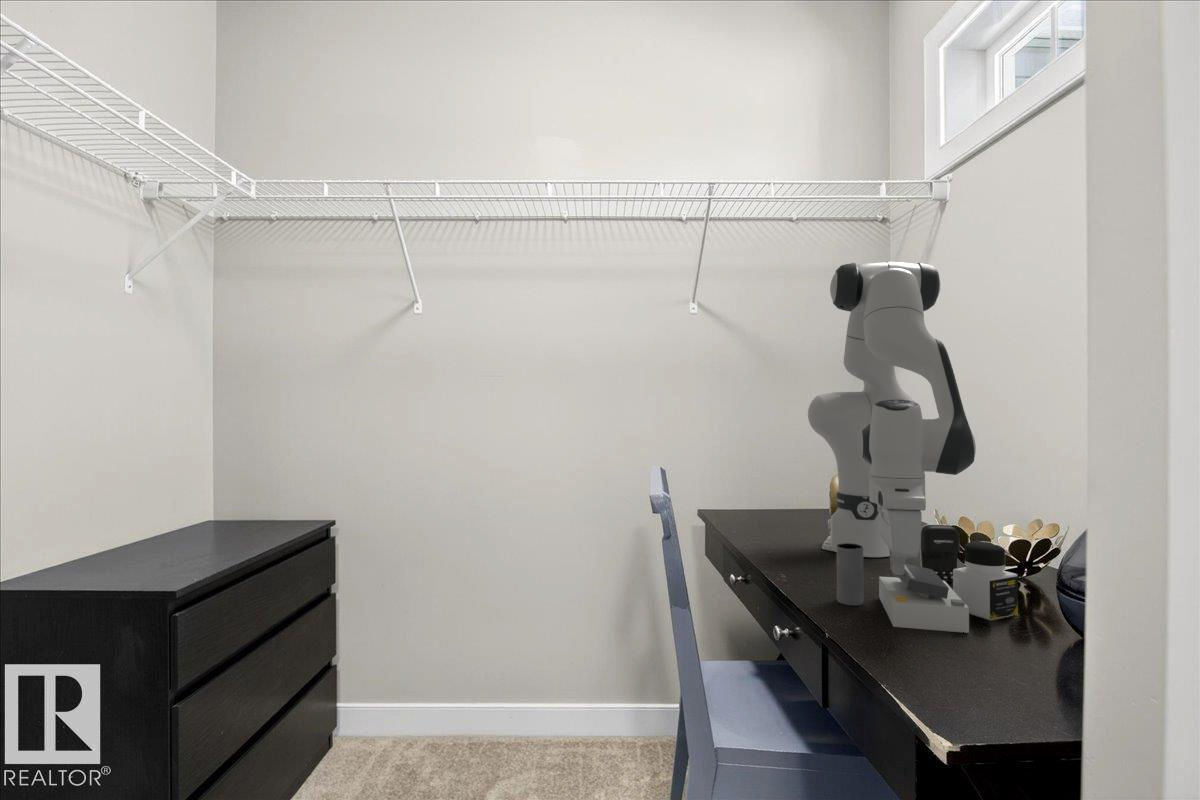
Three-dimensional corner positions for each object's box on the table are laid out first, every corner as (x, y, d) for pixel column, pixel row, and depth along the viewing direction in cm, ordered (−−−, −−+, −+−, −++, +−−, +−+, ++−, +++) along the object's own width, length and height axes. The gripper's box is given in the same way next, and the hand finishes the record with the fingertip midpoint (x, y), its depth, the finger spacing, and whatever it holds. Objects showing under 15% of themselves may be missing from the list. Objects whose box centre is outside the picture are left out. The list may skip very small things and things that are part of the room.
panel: (879, 597, 121) (879, 572, 121) (944, 602, 118) (944, 576, 118) (893, 626, 105) (893, 597, 105) (968, 632, 102) (968, 602, 102)
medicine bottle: (990, 621, 108) (990, 549, 108) (952, 608, 114) (951, 541, 114) (1018, 615, 111) (1018, 545, 111) (979, 603, 117) (979, 537, 117)
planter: (865, 606, 116) (865, 549, 116) (839, 605, 117) (838, 548, 117) (860, 599, 120) (860, 543, 120) (835, 597, 121) (834, 542, 121)
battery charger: (925, 583, 130) (924, 526, 130) (918, 578, 134) (918, 523, 134) (962, 584, 129) (962, 527, 129) (955, 579, 133) (954, 524, 133)
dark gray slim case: (894, 571, 118) (896, 561, 118) (930, 579, 117) (932, 568, 117) (907, 589, 107) (909, 578, 107) (946, 598, 105) (948, 587, 105)
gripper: (871, 486, 123) (871, 558, 123) (884, 499, 104) (885, 586, 103) (907, 487, 121) (907, 561, 121) (927, 501, 102) (928, 589, 102)
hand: (897, 573), depth 112 cm, fingers closed, pressing on dark gray slim case
